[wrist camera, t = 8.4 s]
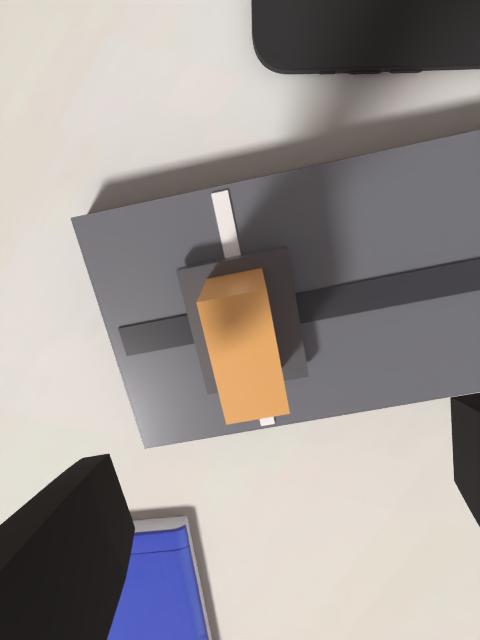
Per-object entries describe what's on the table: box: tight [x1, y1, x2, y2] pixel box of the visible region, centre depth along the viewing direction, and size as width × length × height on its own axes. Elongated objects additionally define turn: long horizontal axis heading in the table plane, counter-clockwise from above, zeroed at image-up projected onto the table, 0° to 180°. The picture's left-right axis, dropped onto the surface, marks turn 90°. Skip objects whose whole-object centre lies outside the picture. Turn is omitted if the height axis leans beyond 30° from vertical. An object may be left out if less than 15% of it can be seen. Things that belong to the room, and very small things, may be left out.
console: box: [71, 130, 480, 449], centre depth 16 cm, size 20×10×2 cm, turn 101°
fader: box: [176, 246, 309, 425], centre depth 14 cm, size 4×5×4 cm
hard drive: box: [107, 516, 212, 640], centre depth 22 cm, size 2×8×12 cm
